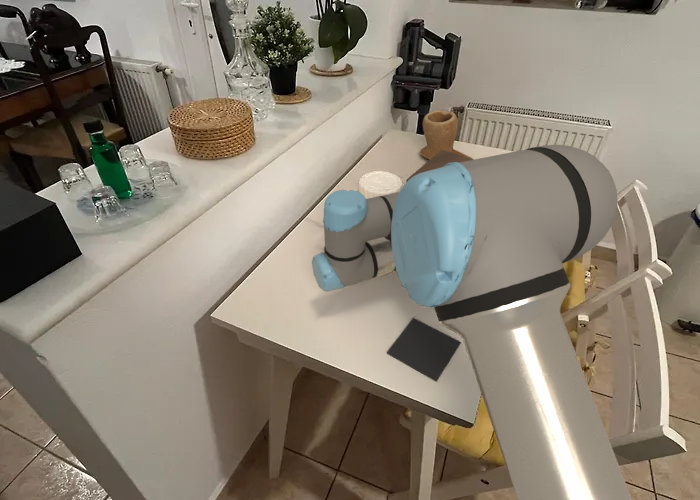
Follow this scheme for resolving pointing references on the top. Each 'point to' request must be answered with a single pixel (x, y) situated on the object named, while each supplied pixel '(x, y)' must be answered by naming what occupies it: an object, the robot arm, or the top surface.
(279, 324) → the top surface
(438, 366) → the rubber mat
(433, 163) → the side table
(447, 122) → the stone cup
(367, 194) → the mooncake
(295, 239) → the top surface
